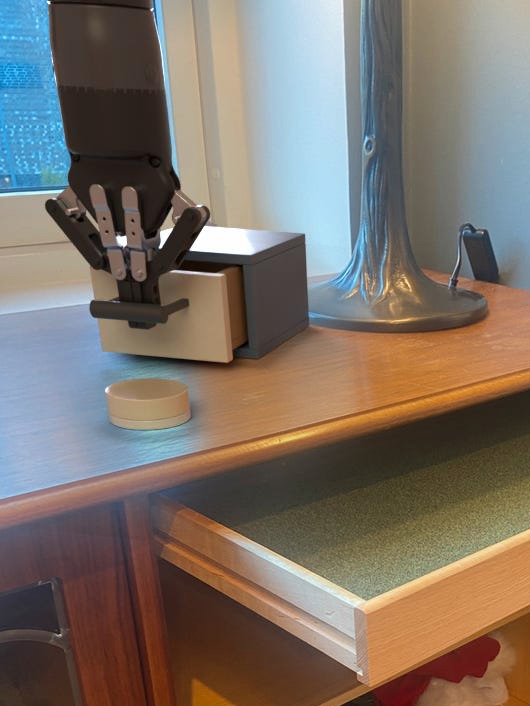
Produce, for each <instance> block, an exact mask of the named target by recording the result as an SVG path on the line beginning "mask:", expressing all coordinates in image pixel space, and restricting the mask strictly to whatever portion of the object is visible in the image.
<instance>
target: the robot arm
mask: <svg viewBox="0 0 530 706" xmlns="http://www.w3.org/2000/svg"><path fill="white" fill-rule="evenodd" d="M46 1H47V3H48V5H47V10H48V23H49V24H48V32H49V46H50V54H51V61H52V72H53V75H54V79H55V80H54V81H55V85H56V91H57V98H58V104H59V109H60V110H59V112H60V117H61V123H62V131H63V134H64V135H63V137H64V143H65V147H66V150H67V152H68V154H69V159H70V164H69V168H68V171H67V184H68V185H67V186H66V187H65V189H63V191H61V192H60V193H59V194H58V195H57V196H56V197H52V198H49V199H47V200H46V201H45V203H44V209H45V211H46V212H47V214H48V215H49V217H51V219H52V220H53V221H54V223H55V224H56V225H57V226H58V228H59V229H60V230H61V231H62V232H63V234H64V235H65V237H67V239H68V240H69V241H70V243H71V244H72V245H73V246H74V247H75V249H76V250H77V251H78V253H79V254H80V255H81V256H82V257H83V259H84V260H85V262H87V263H88V265H89V267H90V266H91V267H92V268H93V269H95V270H104V271H106V272H108V273H110V274H112V275H113V276H114V278H115V279H116V281H117V287H118V294H119V300H120V302H131V303H143V304H155V305H161V301H160V292H159V283H158V281H159V277H160V276H161V275H162V274H165V273H168V272H170V271H173V270H176V269H178V268H179V266H180V265H181V263H182V261H183V260H184V258H185V257H186V255H187V253H188V252H189V250H190V249H191V247H192V246H193V244H194V242H195V241H196V239H197V238H198V236H199V234H200V233H201V231H202V230H203V228H204V226H205V225H206V223H207V222H208V221H210V218H211V210H210V209H209V207H208V206H206V205H205V204H197V203H195V202H194V201H193V200H192V199H191V198H190V197H189V196H187V195H186V194H185V193H184V192H183V191H182V190H181V189H182V183H181V180H180V177H179V176H178V174H177V173H176V170H175V168H174V165H173V158H172V157H173V147H172V137H171V126H170V118H169V117H170V116H169V107H168V99H167V98H168V97H167V89H166V82H165V81H166V80H165V72H164V71H165V69H164V61H163V52H162V45H161V41H160V37H159V33H158V27H157V23H156V18H155V12H154V11H153V10H154V2H153V1H154V0H46ZM171 210H172V213H171V221H172V223H173V224H174V226H173V227H172V228H173V229H172V228H171V229H172V231H171V233H170V234H169V236H168V238H167V239H166V241H165V243H164V244H163V246H162V247H161V249H160V251H159V246H160V244H161V231H162V230H161V228H162V226H163V225H164V223H165V221H166V220H167V218H168V216H169V214H170V212H171ZM87 212H88V214H89V215H90V216H91V218H92V219H93V220H94V222H95V223H96V224H97V225H98V228H97V227H96V226H95V225H94V224H93V222H92V221H91V220H90V218H89V217H88V216H87ZM128 325H129V327H130V328H134V329H146V330H149V329H151V328H153V327H155V326H156V325H157V323H148V322H137V321H128Z"/></svg>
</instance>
